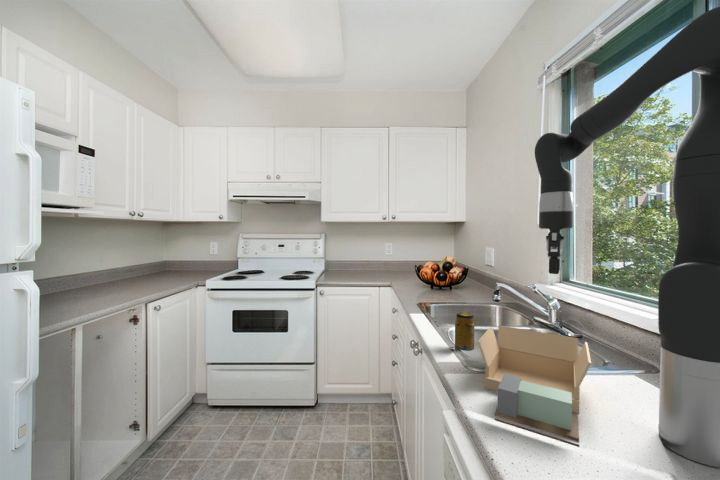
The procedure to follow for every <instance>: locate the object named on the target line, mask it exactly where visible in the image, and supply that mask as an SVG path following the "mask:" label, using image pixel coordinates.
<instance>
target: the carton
mask: <svg viewBox="0 0 720 480" xmlns="http://www.w3.org/2000/svg"><path fill="white" fill-rule="evenodd" d="M497 331H498V332H497V337H496V335H495V331H494V328H493V326H489V327H488V329H487V330H486V331H485V332H484V334H483V335H481V337H480V338H479V340H478V341H477V344H478V348H479V351H480V353H481V356H482V360H483V362H484V365H485V367H484V380H483V381H484V383H483V386H484V387H483V388H484V389H486V390H490V391H494V392H497V393H498V387H499V384H500V382H501V380H502V378H503V375H504V374H508V375H512V376H517V377H521V378H522V381H526V382H530V383H534V384H538V385H542V386H546V387H550V388H555V389H559V390H563V391H567V392H571V393H572V413H574V414H577V415H579V414H580V387H581V384H582V382H583V381H584V379H585V377H586V375H587V373H588V371H589V369H590V367H591V366H592V360H591V354H590V349H589V344H588V342H587V341H584V343H583V345H582V347H581V349H580V351H579V353H578V350H579V349H578V348H579V347H578V346H579V345H578V340H579V338H578V337H575V336H568V335H560V334H554V333H548V332H543V331H535V330H529V329H522V328H516V327H510V326H504V325H498V330H497Z"/></svg>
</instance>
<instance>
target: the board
mask: <svg viewBox="0 0 720 480" xmlns="http://www.w3.org/2000/svg"><path fill="white" fill-rule="evenodd" d="M578 415H579V414H578V413H575V412H572V429H571V430H568V429H564V428H561V427H558V426H554V425H551V424H548V423H544V422H541V421H537V420H534V419H531V418H527V417H524V416H521V415H517V418H514V417H511V416H508V415H504V414H501V413H498V412H497V408H495V411H494V416H495V417H497V418H494V421H496V422H500V423H502V424H506V425H508V426H512V427H515V428H518V429H521V430H524V431H528V432H530V433H533V434H537V435H540V436H543V437H547V438H549V439H553V440H556V441H558V442H562V443H565V444H567V445H571V446H575V447H578V448H579V447H580V445H579V444H577V443H574V442H575V441H576V442H580V432H579V416H578ZM498 417H499V418H502V419H505V420H506V421H505V420H502V419H498ZM507 420H508V421H507ZM509 421H511V422H514V423H511V422H509ZM515 423H517V424H515ZM518 424H520V425H518ZM521 424H522V425H523V426H521ZM524 426H527V427H524ZM528 427H529V428H534V429H537V430H540V431H544V432H546V433H549V434H552V435H556V436H560V437H562V438H565V439H569V440H572V441H574V442H571V441H569V440H565V439H562V438H559V437H555V436H552V435H548V434H546V433H542V432H539V431H536V430H533V429H529V428H528Z"/></svg>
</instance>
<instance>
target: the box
mask: <svg viewBox="0 0 720 480" xmlns="http://www.w3.org/2000/svg"><path fill="white" fill-rule="evenodd" d="M496 405H497V407H496V409H497V412H498V413H501V414H504V415H508V416H511V417H514V418H517V415H521V416H524V417H527V418H531V419H534V420H537V421H541V422H544V423H548V424H551V425H554V426H558V427H561V428H564V429H568V430H571V429H572V413H573V412H572V393H571V392H567V391H563V390H559V389H555V388H550V387H546V386H542V385H538V384H534V383H530V382H526V381H522V378H521V377H517V376H512V375H508V374H504V375H503V378H502V380H501V382H500V384H499V387H498V392H497V404H496Z"/></svg>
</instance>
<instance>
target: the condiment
mask: <svg viewBox="0 0 720 480" xmlns="http://www.w3.org/2000/svg"><path fill="white" fill-rule="evenodd" d="M454 347H455V350H456V349H457V350H461V351H464V352H465V351H467V352H469V351H474V350H475V323H474V315H473V314H472V313H471V312H466V311H465V312H464V311H463V312H462V311H460V312H457V313H456V321H454ZM451 348H452V347H449V348H448V349H449V350H451Z"/></svg>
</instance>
